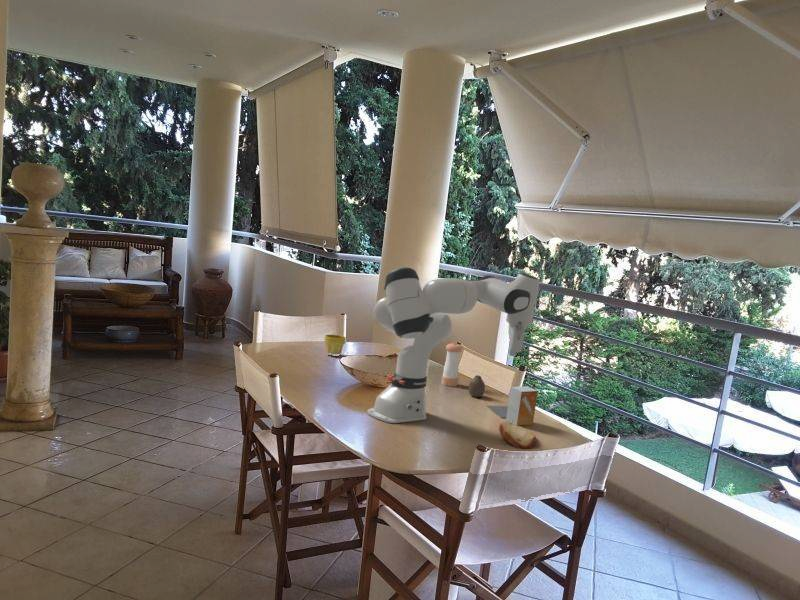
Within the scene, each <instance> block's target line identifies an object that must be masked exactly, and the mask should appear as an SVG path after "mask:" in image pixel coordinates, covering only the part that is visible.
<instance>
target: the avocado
mask: <svg viewBox="0 0 800 600" xmlns="http://www.w3.org/2000/svg"><path fill="white" fill-rule="evenodd" d="M485 391H486V384H485V382H484V380H483V378H482V375H475V376H474V377H473V378H472V379H471V380H470V382H469V385H468V394H469V395H470V396H471V397H472V396H474V397H473V398H476V397H479V398H481V397H482V396H483V395H484V393H485Z"/></svg>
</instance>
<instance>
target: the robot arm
mask: <svg viewBox="0 0 800 600" xmlns="http://www.w3.org/2000/svg"><path fill="white" fill-rule="evenodd" d="M383 290H385V295H386V296H385V297H382V298H381V299H379V300H378V301H377V302H375V304H374V308H373V317H374V320H376V322H377V323H378V324H379V325H380V326H382V327H383V328H384V330H386V331H387V332H390V333H393V334H395V335H396V336H397V337H399V338H401V339H402V338H403V339H414V340H413V343H412V344H411V345H408V346H406V347H404V348H402V349H401V350H400V351H399V352H398V354H397V358H396V359H397V360H396V369H395V373H394V375H390V374H388V375H387V376H386V381H389V382H390V384H389V386H387V387H386V388H384V390H383V391H382V392H380V394H378V395H377V396H376V398H375V402H374V407H371V408H368V409H367V411H366V413H367V415H369V416H371V417H372V418H375V419H377V420H378V421H379V420H380V421H382V422H385V423H390V424H397V423H398V424H399V423H400V424H401V423H406V422H407V423H408V422H417V421H425V420H428V419H427V418H428V417H427V412H426V406H427V405H426V402H427V401H426V391H425V390H426V387H427V382H428V380H427V379H428V377H427V370H428V364H429V361H430V360H429V359H430V356H431V353H432V352H433V350H434V348H435V347H437V345H438V344H439V343H442V342H443V341H445V340H446V339H447V338H448V337H449V336H450V334H451V332H452V325H453V324H452V321H451V318H450V316H449V315H450V314H453V315H454V314H455V315H457V314H458V315H459V314H467V313H469V312H470V311H472V310H473V309H474V307H475V306H476V304H477V301H478V302H479V303H481V304H485V305H487V306H489V307H492V308H493V309H496V310H497V311H500V312H502V313H504V314H506V315H507V316H506V320H505V321H506V322H507V323H508V332H507V333H508V339H509V351H508V352H509V356H511V357H514V356H516V353H521V352H522V350H523V346H524V345H523V344H524V339H525V334H526V333H525V331H526V330H528V328H530V327H531V326H532V323H533V319H534V316H535V306H536V303H537V302H538V301H537V300H538V295H539V290H540V281H539V279H538V278H537V277H536V276H534V275H531V274H528V273H524V272H519V273H517V274H516V277H515V279H514V280H512V281H511V282H506V281H503V280H501V279H498V278H497V277H496V276H493V275H491V274H490V275H489V274H488V275H485V276H482V277H478V278H476V279H464V278H456V277H454V278H452V277H444V278H436V279H432V280H430V281H428V282H427V283H425V285H424V286H423V289H422V288H421V283H420V278H419V275H418V273H417V271H416V270H415V269H413V268H411V267H397V268H395V269H393V270H390V271H389V272H388V273H387V275H386V277H385V280H384V287H383ZM448 314H449V315H448Z"/></svg>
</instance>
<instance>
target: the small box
mask: <svg viewBox="0 0 800 600" xmlns="http://www.w3.org/2000/svg"><path fill="white" fill-rule="evenodd" d="M538 392H539V391H538V390H537V389H534V388H532V387H530V386H528V385H526V386H525V385H524V386H510V391H509V396H508V397H509V399H508V405H507V406H508V410H507V417H506V418H505V422H506V421H507V423H511V424H515V425H518V426H527V425H533V424H534V420H535V414H536V413H535V412H536V405H537V401H538V400H537V398H538Z"/></svg>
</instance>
